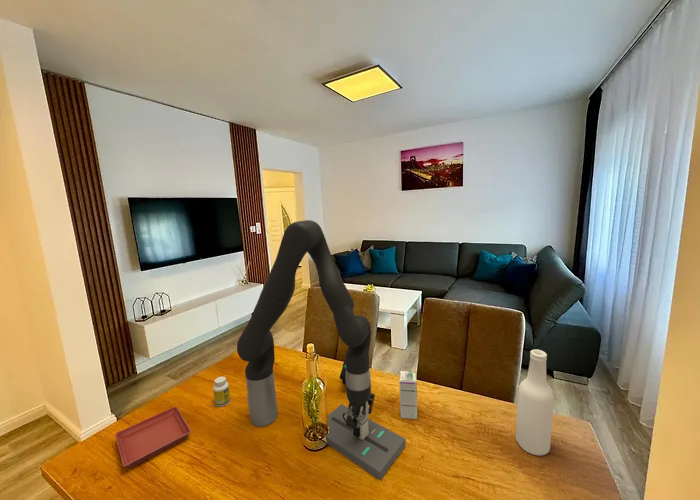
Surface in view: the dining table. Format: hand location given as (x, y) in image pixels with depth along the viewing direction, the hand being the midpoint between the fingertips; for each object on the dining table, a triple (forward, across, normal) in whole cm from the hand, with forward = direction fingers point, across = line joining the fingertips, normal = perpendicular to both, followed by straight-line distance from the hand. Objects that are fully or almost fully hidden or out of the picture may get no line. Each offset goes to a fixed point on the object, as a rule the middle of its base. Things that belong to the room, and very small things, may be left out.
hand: (360, 431), depth 92 cm
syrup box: (+4, -20, +6) cm, 21 cm away
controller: (+4, -20, -22) cm, 30 cm away
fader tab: (+1, 0, 0) cm, 1 cm away
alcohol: (+4, -30, +42) cm, 52 cm away
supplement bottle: (+4, +17, -54) cm, 57 cm away
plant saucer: (+4, +40, -55) cm, 68 cm away
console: (+4, 0, -1) cm, 4 cm away
